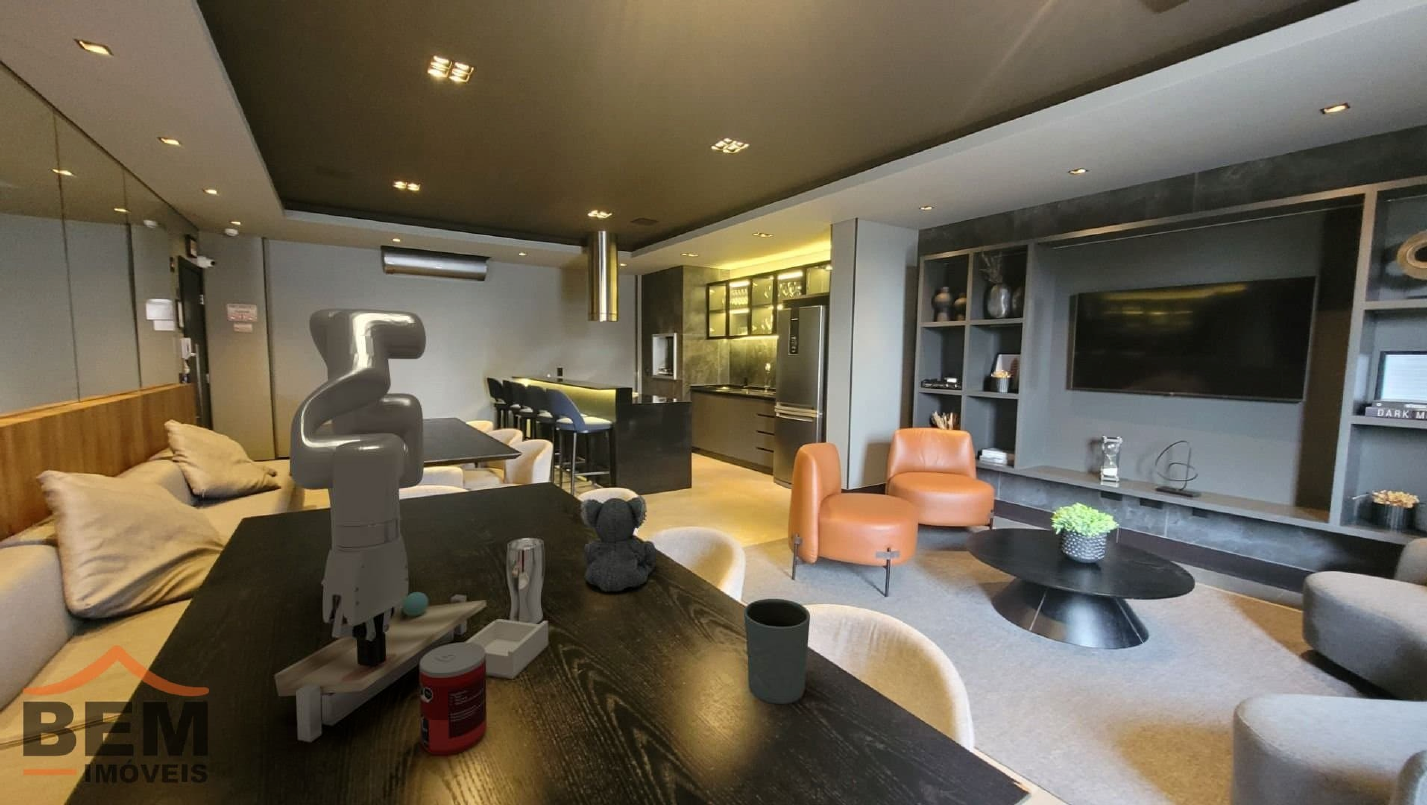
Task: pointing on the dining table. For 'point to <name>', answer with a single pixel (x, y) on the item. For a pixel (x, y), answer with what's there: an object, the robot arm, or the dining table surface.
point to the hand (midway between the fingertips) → (371, 662)
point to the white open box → (511, 645)
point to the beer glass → (525, 579)
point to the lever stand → (346, 702)
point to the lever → (403, 640)
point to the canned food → (452, 697)
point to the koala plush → (617, 544)
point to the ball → (415, 604)
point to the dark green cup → (776, 649)
